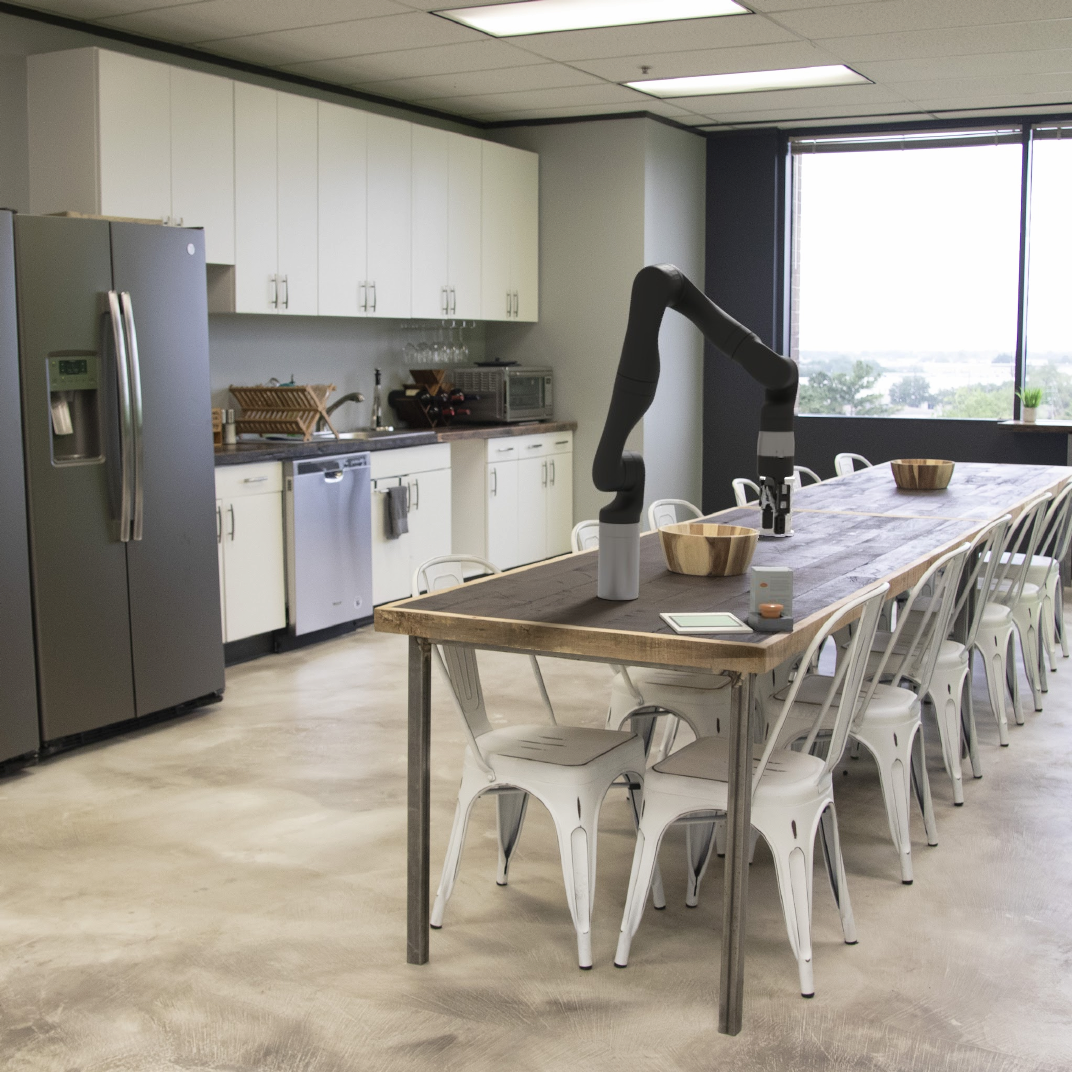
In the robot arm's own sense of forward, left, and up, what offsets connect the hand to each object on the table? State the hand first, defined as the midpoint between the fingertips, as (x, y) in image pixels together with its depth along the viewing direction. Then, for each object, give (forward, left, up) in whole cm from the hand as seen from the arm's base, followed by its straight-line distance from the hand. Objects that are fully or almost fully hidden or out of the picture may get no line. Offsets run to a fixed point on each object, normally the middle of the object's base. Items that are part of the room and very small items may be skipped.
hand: (773, 531), depth 264 cm
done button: (+10, -3, -17) cm, 20 cm away
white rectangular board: (+6, -15, -18) cm, 25 cm away
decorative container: (-128, +40, -19) cm, 135 cm away
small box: (0, 0, -19) cm, 19 cm away
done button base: (+10, -3, -18) cm, 21 cm away
